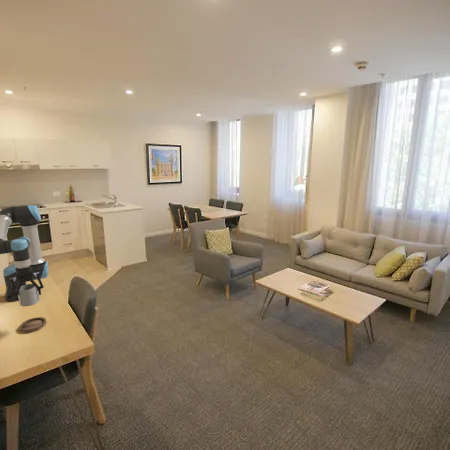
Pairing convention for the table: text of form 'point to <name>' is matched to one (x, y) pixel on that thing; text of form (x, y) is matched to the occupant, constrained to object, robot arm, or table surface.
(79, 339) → the table surface
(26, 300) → the cup
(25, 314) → the table surface
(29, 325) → the tray
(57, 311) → the table surface
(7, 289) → the robot arm
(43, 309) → the table surface
